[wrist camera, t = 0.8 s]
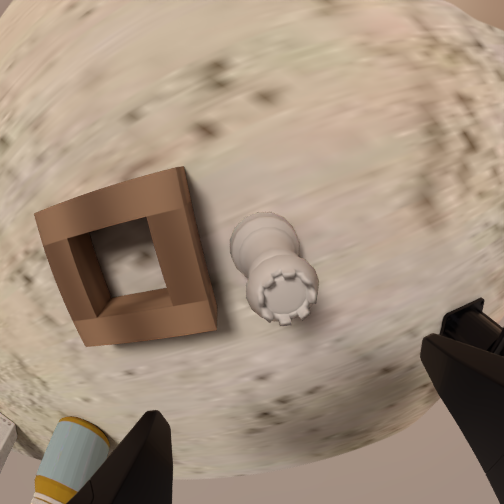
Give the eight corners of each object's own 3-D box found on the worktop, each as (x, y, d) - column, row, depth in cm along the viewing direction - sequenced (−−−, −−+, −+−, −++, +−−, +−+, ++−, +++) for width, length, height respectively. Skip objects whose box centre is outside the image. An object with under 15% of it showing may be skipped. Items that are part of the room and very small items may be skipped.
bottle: (97, 451, 26) (75, 538, 12) (54, 422, 24) (19, 509, 10) (120, 439, 25) (98, 543, 11) (71, 407, 23) (31, 511, 9)
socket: (183, 166, 17) (175, 167, 14) (217, 306, 20) (216, 329, 17) (56, 205, 17) (33, 213, 14) (99, 325, 20) (85, 346, 17)
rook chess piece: (307, 250, 19) (354, 307, 12) (253, 286, 20) (270, 359, 12) (273, 196, 18) (307, 225, 10) (215, 235, 18) (209, 289, 11)
